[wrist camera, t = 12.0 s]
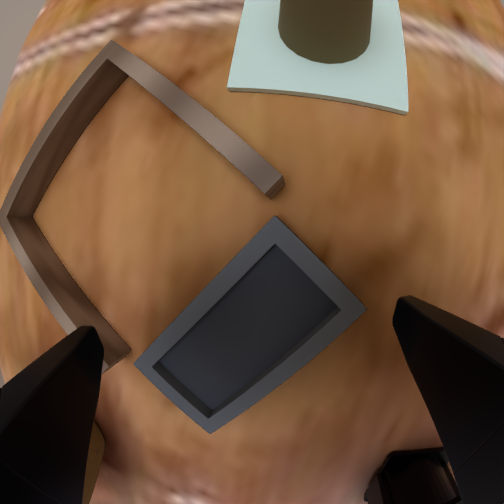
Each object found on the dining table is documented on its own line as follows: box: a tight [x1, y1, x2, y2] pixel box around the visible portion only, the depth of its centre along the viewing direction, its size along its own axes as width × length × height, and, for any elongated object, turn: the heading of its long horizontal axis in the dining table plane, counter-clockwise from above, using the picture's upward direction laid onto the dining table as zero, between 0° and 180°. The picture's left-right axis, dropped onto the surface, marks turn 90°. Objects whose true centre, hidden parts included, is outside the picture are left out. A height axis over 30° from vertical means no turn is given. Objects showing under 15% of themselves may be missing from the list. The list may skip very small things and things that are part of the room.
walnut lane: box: [0, 40, 285, 375], centre depth 17 cm, size 15×16×3 cm
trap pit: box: [133, 216, 367, 434], centre depth 17 cm, size 7×13×2 cm, turn 136°
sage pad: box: [227, 0, 408, 115], centre depth 15 cm, size 11×11×1 cm
